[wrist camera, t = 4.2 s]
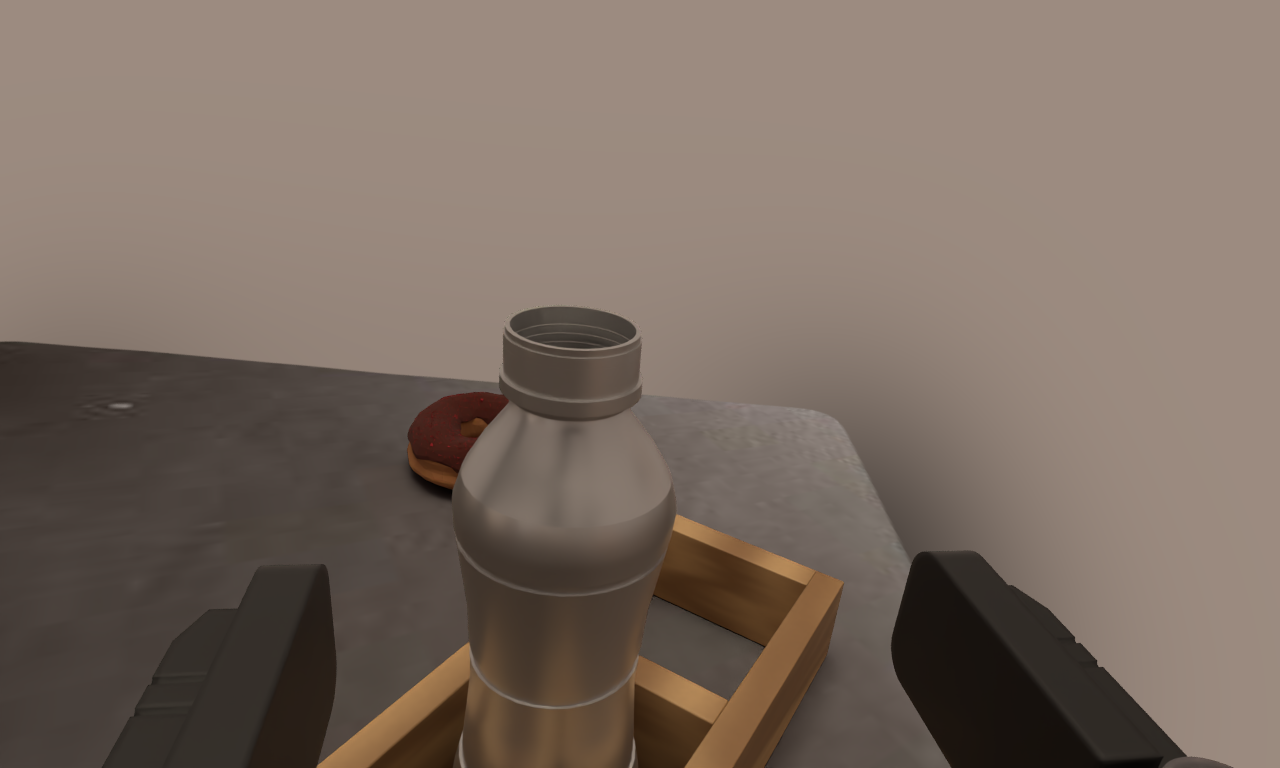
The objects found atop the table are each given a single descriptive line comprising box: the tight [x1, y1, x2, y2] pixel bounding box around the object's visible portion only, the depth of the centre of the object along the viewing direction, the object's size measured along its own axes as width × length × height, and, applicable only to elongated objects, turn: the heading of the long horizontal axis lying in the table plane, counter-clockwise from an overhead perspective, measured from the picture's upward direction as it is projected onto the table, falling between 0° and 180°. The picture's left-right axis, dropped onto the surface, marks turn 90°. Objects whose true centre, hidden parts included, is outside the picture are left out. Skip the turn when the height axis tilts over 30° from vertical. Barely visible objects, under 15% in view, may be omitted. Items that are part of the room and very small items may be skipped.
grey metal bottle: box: [452, 305, 677, 768], centre depth 25 cm, size 6×7×20 cm
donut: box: [407, 392, 509, 490], centre depth 52 cm, size 10×10×4 cm
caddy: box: [317, 514, 844, 768], centre depth 32 cm, size 11×21×4 cm, turn 149°
